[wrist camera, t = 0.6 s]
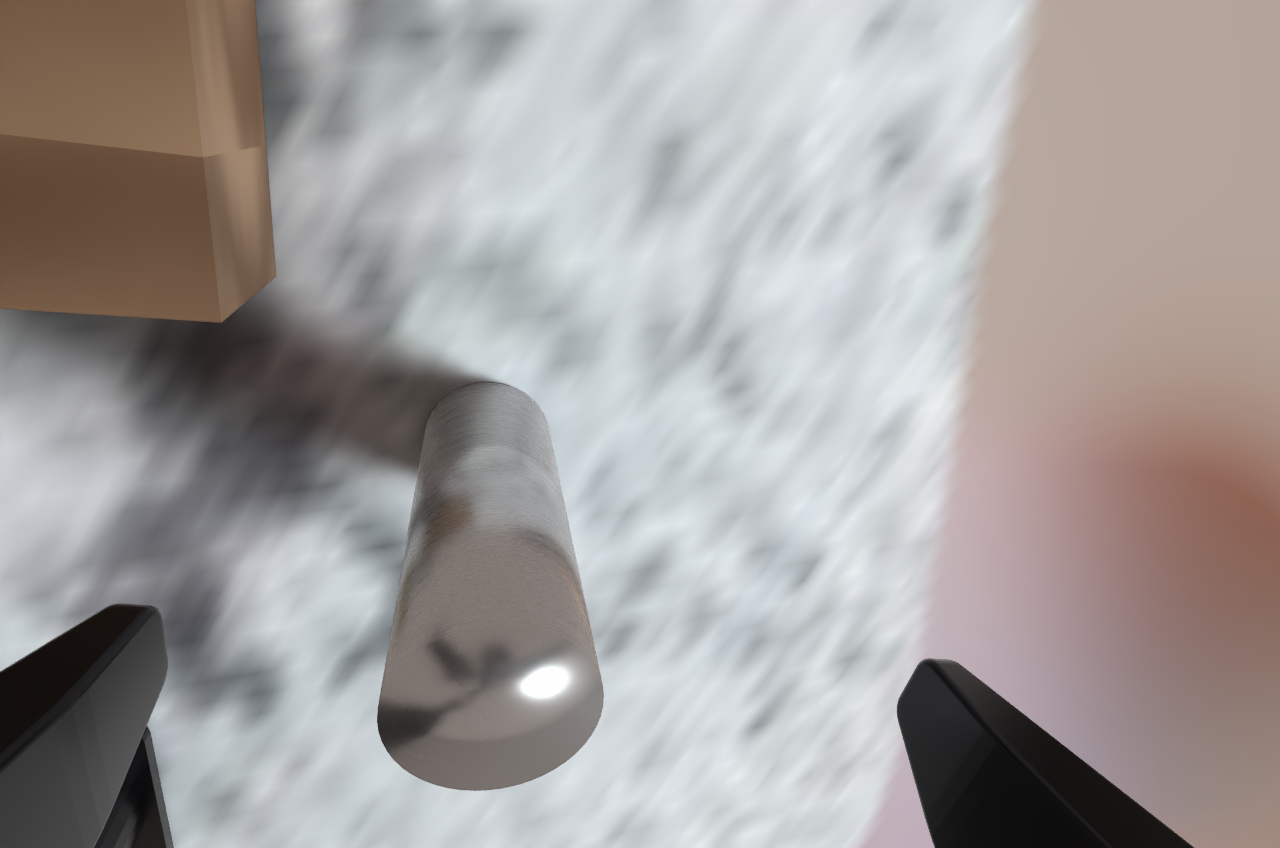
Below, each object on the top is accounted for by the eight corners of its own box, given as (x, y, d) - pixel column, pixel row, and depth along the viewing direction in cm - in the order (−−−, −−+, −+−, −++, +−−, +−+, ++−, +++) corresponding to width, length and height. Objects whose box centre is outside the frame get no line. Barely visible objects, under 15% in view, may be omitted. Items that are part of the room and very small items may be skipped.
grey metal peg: (544, 492, 21) (591, 780, 12) (424, 491, 20) (379, 799, 11) (554, 385, 20) (615, 621, 11) (424, 379, 19) (375, 629, 10)
